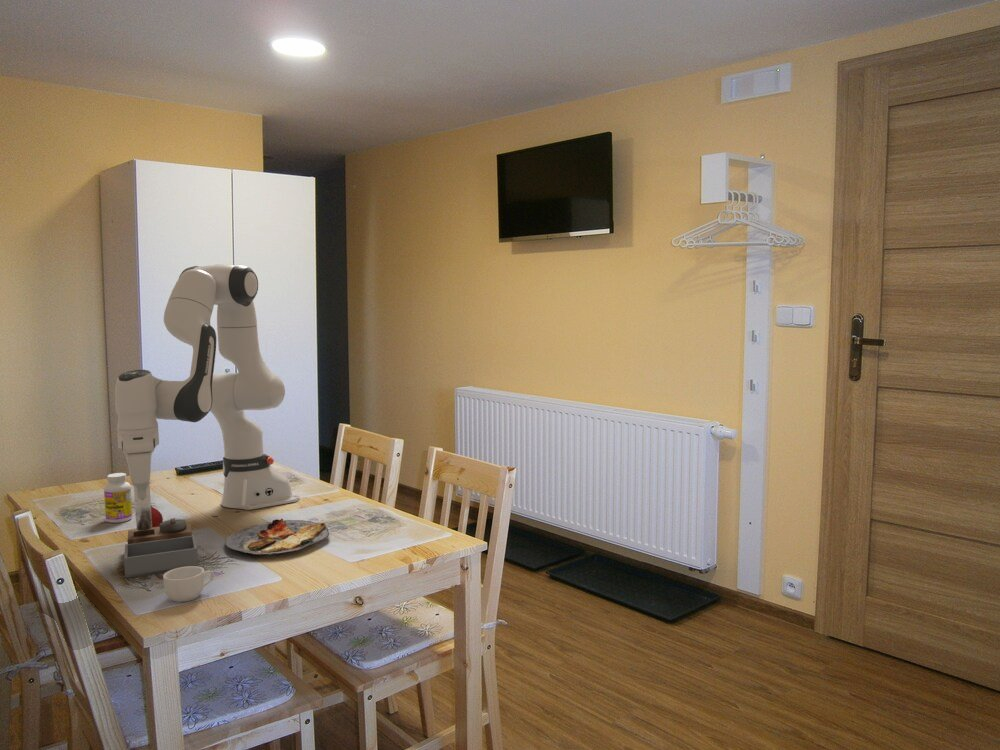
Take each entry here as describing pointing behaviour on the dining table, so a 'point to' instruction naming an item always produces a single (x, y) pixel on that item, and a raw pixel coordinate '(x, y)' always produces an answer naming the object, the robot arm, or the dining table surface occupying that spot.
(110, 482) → the supplement bottle
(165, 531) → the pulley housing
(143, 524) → the pin
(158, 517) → the red round piece
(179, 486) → the dining table surface
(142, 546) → the parts tray
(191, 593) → the teacup
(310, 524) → the food plate
